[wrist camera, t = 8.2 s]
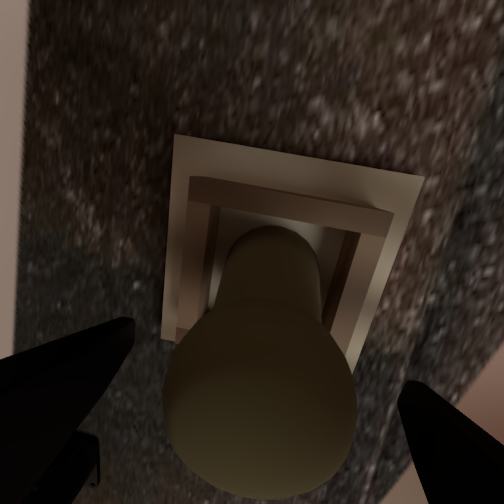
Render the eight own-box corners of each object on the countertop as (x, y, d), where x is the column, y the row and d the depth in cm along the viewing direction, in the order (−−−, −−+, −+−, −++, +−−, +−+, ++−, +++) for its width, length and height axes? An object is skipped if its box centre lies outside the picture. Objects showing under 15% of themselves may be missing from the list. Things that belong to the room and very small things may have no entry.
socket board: (346, 369, 18) (360, 412, 15) (166, 330, 19) (142, 362, 16) (415, 177, 14) (456, 177, 11) (181, 136, 15) (152, 125, 12)
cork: (218, 230, 15) (84, 340, 5) (317, 220, 15) (409, 329, 4) (231, 315, 17) (152, 534, 7) (321, 311, 16) (393, 555, 6)
